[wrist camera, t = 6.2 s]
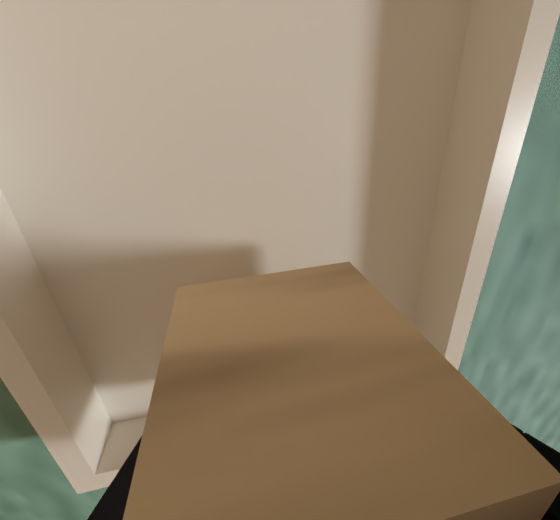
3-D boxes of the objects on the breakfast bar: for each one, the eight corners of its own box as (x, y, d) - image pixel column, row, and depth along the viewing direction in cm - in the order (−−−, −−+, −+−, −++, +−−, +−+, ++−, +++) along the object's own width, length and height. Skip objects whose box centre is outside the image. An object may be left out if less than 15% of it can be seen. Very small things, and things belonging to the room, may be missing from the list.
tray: (516, -188, 7) (659, -336, 5) (413, 360, 15) (448, 402, 12) (-255, -285, 5) (-694, -668, 2) (102, 427, 12) (77, 493, 10)
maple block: (343, 381, 11) (468, 629, 5) (208, 410, 10) (200, 734, 5) (349, 261, 9) (566, 480, 3) (177, 287, 8) (97, 629, 3)
